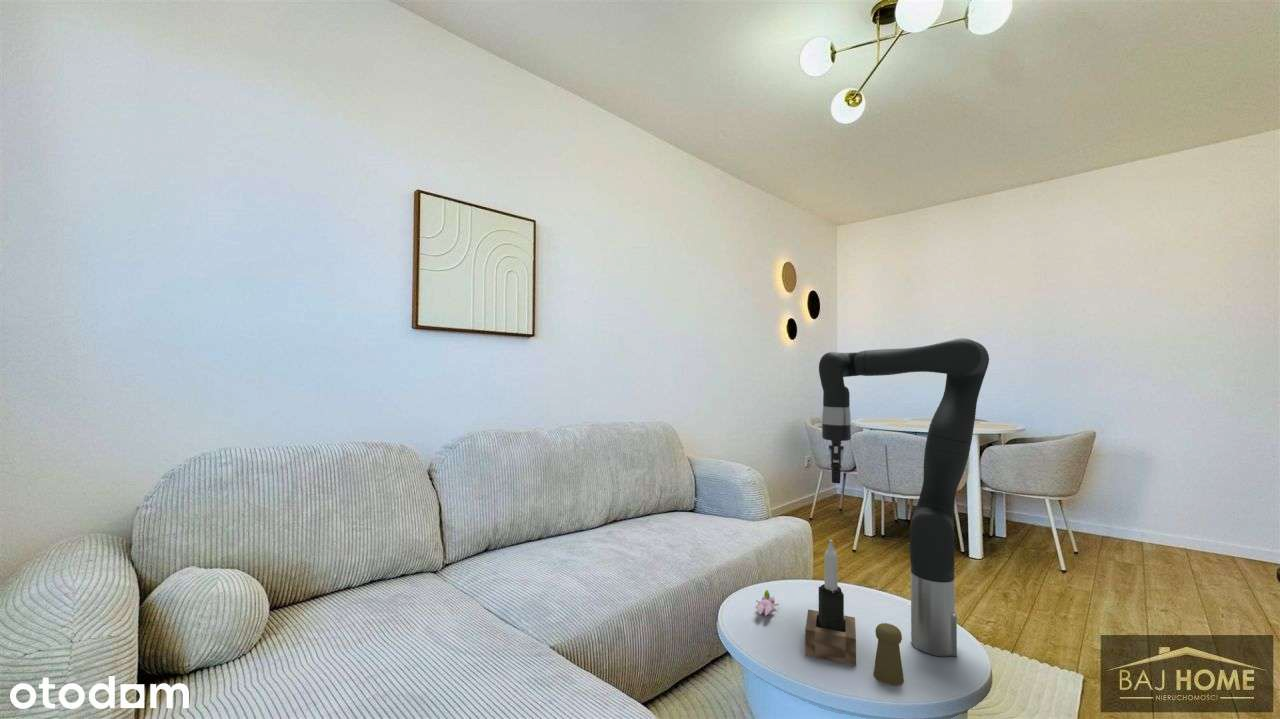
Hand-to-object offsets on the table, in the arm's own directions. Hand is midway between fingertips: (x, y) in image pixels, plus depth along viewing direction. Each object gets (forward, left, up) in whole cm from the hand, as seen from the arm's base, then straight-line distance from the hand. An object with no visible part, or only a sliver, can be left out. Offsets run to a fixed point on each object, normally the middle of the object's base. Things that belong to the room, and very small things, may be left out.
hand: (836, 480), depth 144 cm
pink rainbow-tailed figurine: (+18, +10, -36) cm, 42 cm away
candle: (+1, +23, -35) cm, 42 cm away
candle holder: (+1, +23, -36) cm, 43 cm away
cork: (-11, +30, -36) cm, 48 cm away
